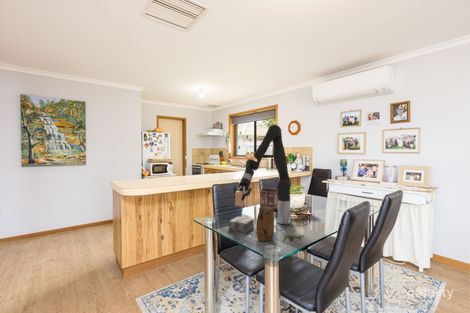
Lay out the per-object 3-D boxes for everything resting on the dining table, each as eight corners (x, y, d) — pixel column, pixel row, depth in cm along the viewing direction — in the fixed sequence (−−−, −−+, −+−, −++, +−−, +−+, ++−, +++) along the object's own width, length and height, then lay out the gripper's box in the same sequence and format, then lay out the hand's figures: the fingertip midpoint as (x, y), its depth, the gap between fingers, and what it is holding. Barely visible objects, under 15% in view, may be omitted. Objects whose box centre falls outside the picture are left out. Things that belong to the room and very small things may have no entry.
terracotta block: (244, 205, 164) (244, 191, 164) (241, 206, 160) (241, 192, 160) (238, 204, 167) (238, 190, 166) (235, 205, 163) (235, 191, 162)
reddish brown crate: (266, 212, 199) (266, 192, 199) (255, 207, 215) (256, 189, 215) (282, 211, 207) (283, 191, 206) (271, 206, 223) (272, 188, 222)
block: (265, 235, 148) (266, 204, 147) (275, 239, 142) (275, 207, 141) (254, 239, 140) (255, 207, 140) (263, 243, 135) (264, 210, 134)
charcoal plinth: (253, 227, 162) (253, 218, 162) (246, 233, 151) (246, 224, 151) (237, 224, 169) (237, 216, 168) (228, 229, 157) (229, 220, 157)
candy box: (310, 213, 201) (310, 194, 201) (311, 215, 195) (312, 196, 195) (294, 212, 202) (294, 194, 202) (295, 214, 197) (295, 195, 196)
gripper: (236, 176, 173) (228, 195, 163) (253, 178, 166) (246, 197, 156) (239, 183, 178) (231, 201, 168) (256, 184, 171) (249, 203, 161)
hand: (238, 199), depth 162 cm, fingers closed on terracotta block, 5 cm apart
